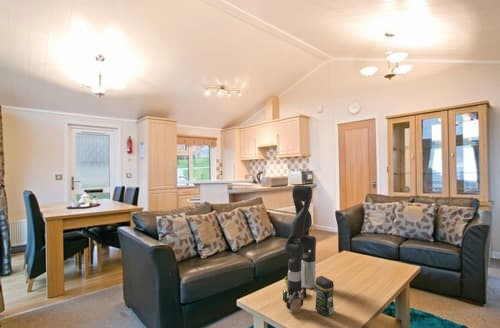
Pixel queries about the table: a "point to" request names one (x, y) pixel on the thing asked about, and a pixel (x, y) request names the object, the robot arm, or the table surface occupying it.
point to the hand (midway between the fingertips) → (294, 307)
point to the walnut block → (295, 304)
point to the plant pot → (286, 281)
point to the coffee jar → (324, 296)
